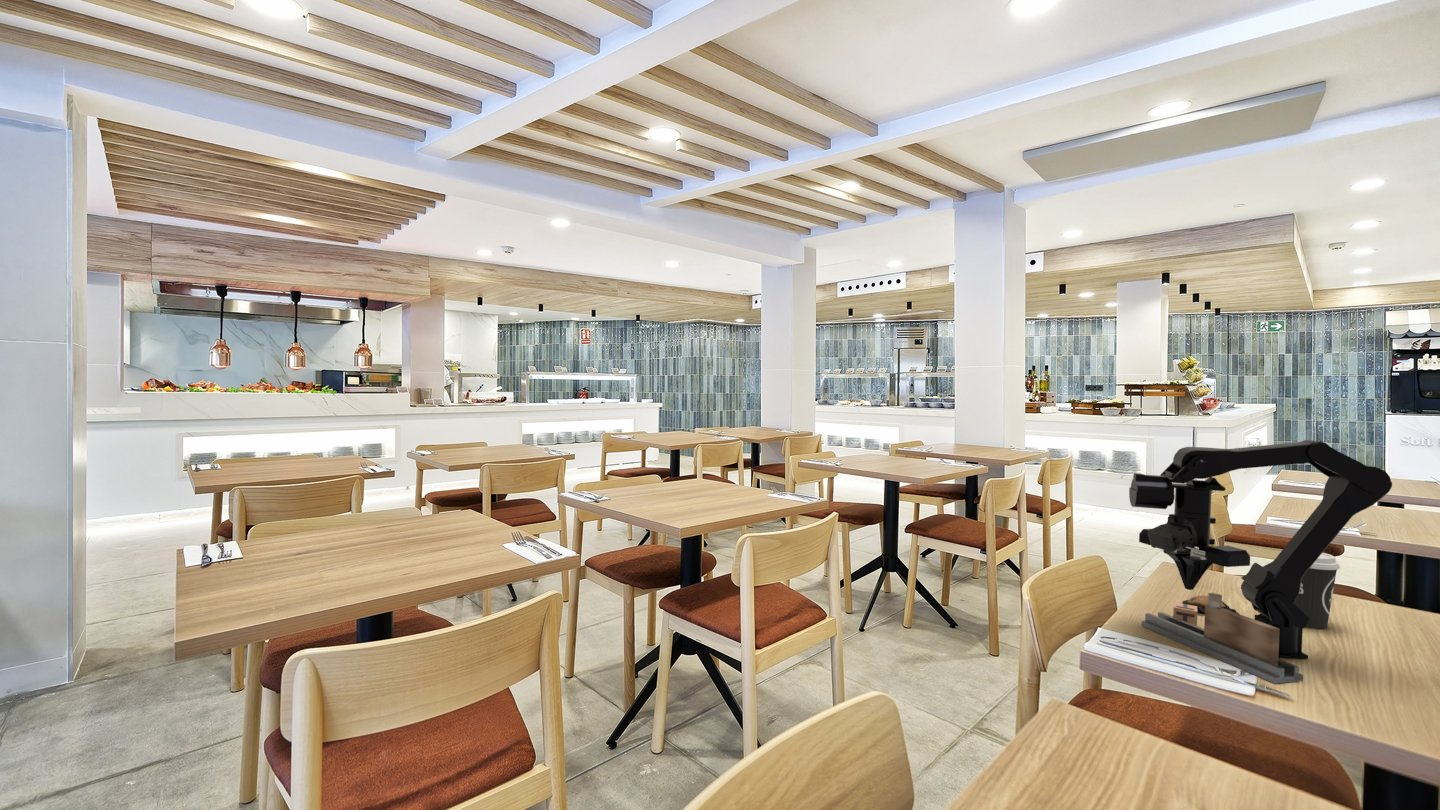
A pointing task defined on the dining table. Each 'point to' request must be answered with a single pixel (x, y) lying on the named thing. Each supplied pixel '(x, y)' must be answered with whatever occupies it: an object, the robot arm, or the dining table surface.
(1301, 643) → the robot arm
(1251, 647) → the screen
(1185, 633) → the track
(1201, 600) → the bread roll
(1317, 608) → the coffee cup
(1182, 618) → the lettered cube
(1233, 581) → the dining table surface
